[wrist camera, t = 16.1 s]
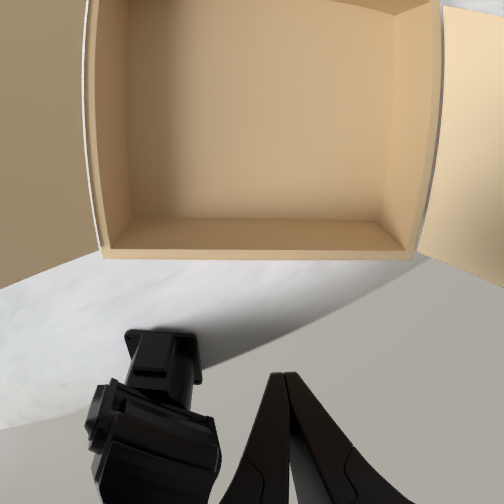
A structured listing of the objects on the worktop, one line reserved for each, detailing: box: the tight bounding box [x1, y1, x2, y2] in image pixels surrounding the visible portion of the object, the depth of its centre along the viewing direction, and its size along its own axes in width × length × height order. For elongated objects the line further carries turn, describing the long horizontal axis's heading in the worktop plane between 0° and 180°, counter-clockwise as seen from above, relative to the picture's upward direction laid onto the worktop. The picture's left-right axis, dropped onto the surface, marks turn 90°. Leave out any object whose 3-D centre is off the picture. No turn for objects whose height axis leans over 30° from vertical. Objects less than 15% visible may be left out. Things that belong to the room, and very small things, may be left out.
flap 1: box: [0, 0, 99, 289], centre depth 10 cm, size 15×8×1 cm
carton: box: [84, 0, 442, 260], centre depth 15 cm, size 16×18×5 cm
